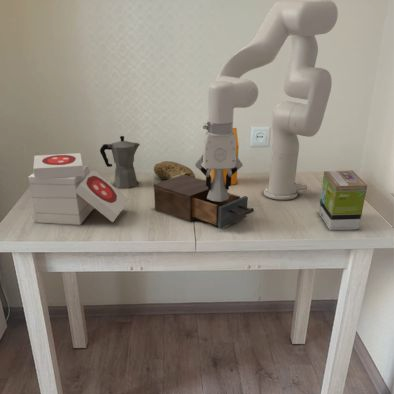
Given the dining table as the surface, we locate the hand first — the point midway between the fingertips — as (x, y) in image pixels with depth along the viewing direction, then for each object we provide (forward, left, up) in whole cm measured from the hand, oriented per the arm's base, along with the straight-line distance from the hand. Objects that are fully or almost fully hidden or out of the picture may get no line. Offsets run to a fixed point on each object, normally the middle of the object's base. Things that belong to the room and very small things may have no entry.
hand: (218, 187), depth 157 cm
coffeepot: (+34, -38, -11) cm, 52 cm away
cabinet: (+10, -10, -11) cm, 18 cm away
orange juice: (-6, -40, -11) cm, 42 cm away
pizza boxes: (+46, -6, -11) cm, 48 cm away
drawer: (-1, +1, -10) cm, 10 cm away
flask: (0, 0, -4) cm, 4 cm away
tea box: (-40, +3, -11) cm, 42 cm away
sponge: (+14, -42, -11) cm, 46 cm away
